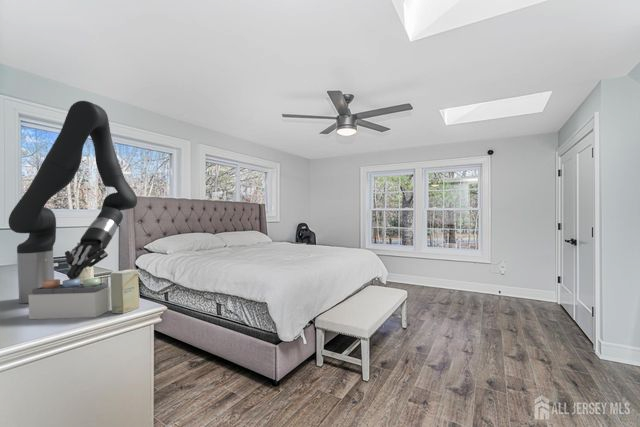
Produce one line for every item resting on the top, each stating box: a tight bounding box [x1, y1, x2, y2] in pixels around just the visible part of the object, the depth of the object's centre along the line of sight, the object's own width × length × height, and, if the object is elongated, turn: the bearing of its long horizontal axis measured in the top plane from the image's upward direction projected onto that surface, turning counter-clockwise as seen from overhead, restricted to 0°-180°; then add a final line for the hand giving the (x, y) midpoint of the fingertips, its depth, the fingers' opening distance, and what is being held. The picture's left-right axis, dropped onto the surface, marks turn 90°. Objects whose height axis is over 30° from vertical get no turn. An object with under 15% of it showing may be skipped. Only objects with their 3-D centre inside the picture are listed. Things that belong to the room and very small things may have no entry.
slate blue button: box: [62, 278, 80, 288], centre depth 88 cm, size 4×4×2 cm
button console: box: [28, 282, 112, 320], centre depth 88 cm, size 19×7×8 cm, turn 91°
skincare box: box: [109, 268, 140, 314], centre depth 90 cm, size 6×4×12 cm
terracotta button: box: [42, 278, 61, 289], centre depth 88 cm, size 4×4×2 cm
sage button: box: [83, 277, 101, 288], centre depth 88 cm, size 4×4×2 cm
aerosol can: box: [68, 242, 95, 284], centre depth 105 cm, size 7×7×20 cm
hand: (71, 277), depth 88 cm, fingers closed
